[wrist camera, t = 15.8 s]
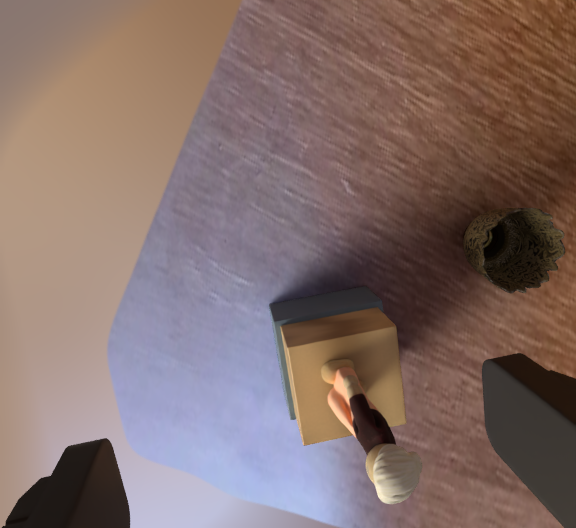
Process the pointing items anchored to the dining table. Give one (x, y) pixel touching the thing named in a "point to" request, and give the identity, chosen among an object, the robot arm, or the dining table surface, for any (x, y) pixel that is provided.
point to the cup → (513, 247)
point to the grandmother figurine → (371, 434)
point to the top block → (335, 346)
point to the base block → (313, 310)
